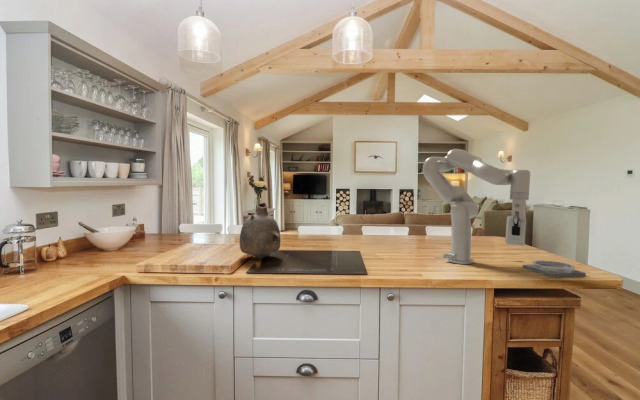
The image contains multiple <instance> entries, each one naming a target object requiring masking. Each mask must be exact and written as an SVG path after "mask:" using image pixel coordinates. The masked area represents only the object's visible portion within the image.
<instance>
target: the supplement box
mask: <svg viewBox="0 0 640 400" xmlns="http://www.w3.org/2000/svg"><path fill="white" fill-rule="evenodd" d="M513 219H514V218H513ZM518 220H519V218H518ZM512 226H513V221H512V215H507V216H506V227H505V239H504V242H505V243H506V245H509V246H510V245H513V246H523V247H524V246H525V244H526V231H527V230H526V229H527V218H524V222H522V221H521V220H520V235H519V236H517V235H512Z"/></svg>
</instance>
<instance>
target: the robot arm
mask: <svg viewBox="0 0 640 400" xmlns="http://www.w3.org/2000/svg"><path fill="white" fill-rule="evenodd" d="M459 168H460V169H461V170H464V171H466V172H468V173H469V174H472V175H473V176H475V177H477V178H479V179H481V180H483V181H486V182H488V183H489V184H492V185H496V186H510V188H509V189H510V191H509V200H512V202H511V204H512V205H511V216H512V221H513V226H512V235H517V236H519V235H520V220H521V221H522V222H524V218H526V217H527V213H526V212H527V201H529V200H530V199H529V198H530V184H531V183H530V182H531V172H530V170H529V169H513V170H510V169H503V168H498V167H496V166H493V165H490V164H488V163H486V162H485V161H483V160H482V158H480V157H479V156H476V155H474V154H471V153H469V152H468V151H467V150H465V149H461V148H453V149H449V151H448V152H447V154H446V156H430V157H427V158H426V159H425V160H424V162H423V166H422V174H423V176H424V179H425V180H426V181H427V182H428V183H429V185H430V186H431V187H432V188H433V191H435V193H436V194H437V195H438V196H439V198H440V200H442V202H443V203H445V204H452V206H451V208H450V212H449V213H450V220H451V221H450V222H451V240H450V241H451V242H450V243H451V244H450V247H451V248H450V251H449V253H447V254H446V253H445V254H443V253H442V255H441V257H442V259H446V258H447V261H448V262H450V263H451V264H452V263H453V264H459V265H471V264H474V262H475V261H474V259H472V258H471V257H472V256H471V254H472V252H471V251H472V223H471V219H475V218H476V217H477V216H478V214H479V211H480V208H479V206H478V204H477V202H475V201H474V199H473V198H472V197H471V195H469V194H468V192H467V191H466V190H465V189H464V188H463V187H461V186H458V185H452V183H451V182H449V180H448V179H447V178H446V177H445V176H444V175H443V173H447V172H449V171H453V170H455V169H459ZM513 218H514V219H513ZM518 218H519V220H518ZM526 219H527V218H526Z"/></svg>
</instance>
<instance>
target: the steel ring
mask: <svg viewBox="0 0 640 400" xmlns="http://www.w3.org/2000/svg"><path fill="white" fill-rule="evenodd" d="M531 264H532V267H534V268H536V269H539V270H543V271H547V272H555V273H573V272H575V270H576V267H575V265H573V264H570V263H567V262H562V261H555V260H545V259H543V260H542V259H541V260H537V259H536V260H533V261H532V262H531ZM542 265H551V266H559V267H564V268H554V267H547V266H542Z"/></svg>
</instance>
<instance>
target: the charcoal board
mask: <svg viewBox="0 0 640 400" xmlns="http://www.w3.org/2000/svg"><path fill="white" fill-rule="evenodd" d="M542 266H547V267H554V268H564V267H559V266H551V265H542ZM522 269H525V270H528V271H531V272H534V273H538V274H540V275H543V276H546V277H549V278H569V277H571V278H573V277H574V276H576V277H586V272H584V271H580V270H577V269H575V272H573V273H555V272H547V271H543V270H539V269H536V268H534V267H532V263H531V264H522Z"/></svg>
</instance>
